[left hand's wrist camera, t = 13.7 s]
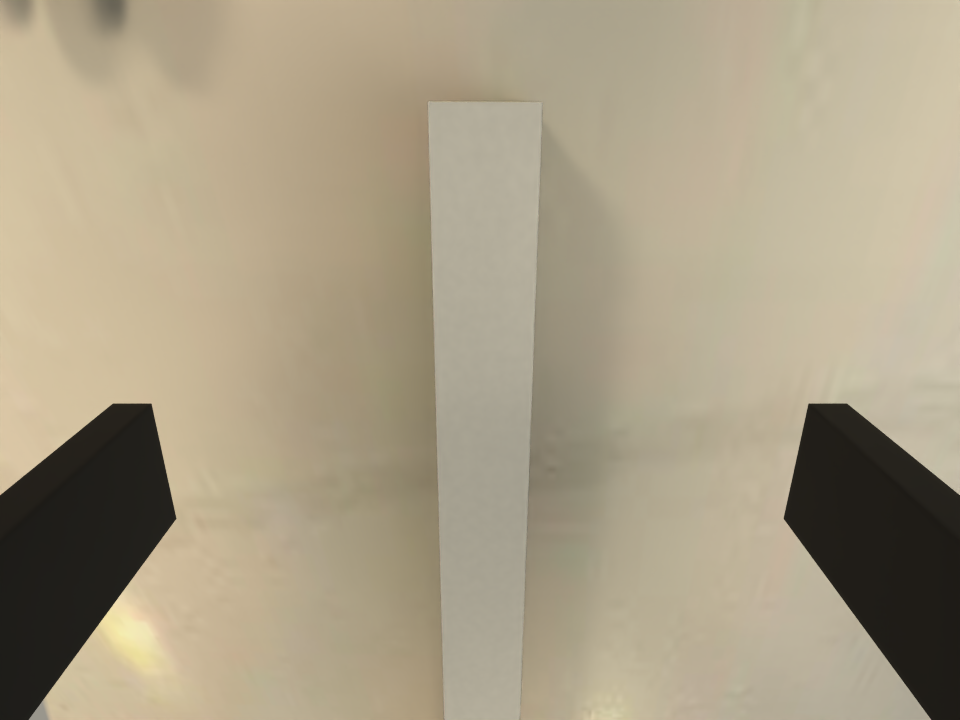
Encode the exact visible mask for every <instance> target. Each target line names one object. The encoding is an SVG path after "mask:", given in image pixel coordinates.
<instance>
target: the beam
mask: <svg viewBox="0 0 960 720" xmlns="http://www.w3.org/2000/svg"><path fill="white" fill-rule="evenodd" d="M542 114H543V102H526V101H428V138H429V175H430V213H431V251H432V288H433V326H434V364H435V401H436V439H437V477H438V514H439V552H440V590H441V628H442V665H443V703H444V720H520V708H521V681H522V654H523V627H524V600H525V573H526V546H527V519H528V492H529V465H530V438H531V411H532V384H533V357H534V330H535V303H536V276H537V249H538V222H539V195H540V168H541V141H542Z"/></svg>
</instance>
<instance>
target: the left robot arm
mask: <svg viewBox="0 0 960 720" xmlns="http://www.w3.org/2000/svg"><path fill="white" fill-rule="evenodd" d="M175 520H176V515H175V511H174V506H173V501H172V497H171V492H170V487H169V483H168V478H167V474H166V469H165V464H164V460H163V455H162V450H161V446H160V441H159V437H158V432H157V427H156V423H155V418H154V414H153V409H152V404H112V405H111V406H110V407H108V408H107V409H106V410H105V411H103V412H102V413H101V414H100V415H98V416H97V417H96V418H95V419H94V420H92V421H91V422H90V423H89V424H87V425H86V426H85V427H84V428H82V429H81V430H80V431H79V432H78V433H76V434H75V435H74V436H73V437H71V438H70V439H69V440H68V441H66V442H65V443H64V444H63V445H62V446H60V447H59V448H58V449H57V450H55V451H54V452H53V453H52V454H50V455H49V456H48V457H47V458H46V459H44V460H43V461H42V462H41V463H39V464H38V465H37V466H36V467H35V468H33V469H32V470H31V471H30V472H28V473H27V474H26V475H25V476H23V477H22V478H21V479H20V480H19V481H17V482H16V483H15V484H14V485H12V486H11V487H10V488H9V489H7V490H6V491H5V492H4V493H3V494H1V495H0V720H29V718H30V717H31V716H32V714H33V713H34V712H35V710H36V709H37V708H38V706H39V705H40V703H41V702H42V701H43V699H44V698H45V697H46V695H47V694H48V693H49V691H50V690H51V688H52V687H53V686H54V684H55V683H56V682H57V680H58V679H59V678H60V676H61V675H62V674H63V672H64V671H65V669H66V668H67V667H68V665H69V664H70V663H71V661H72V660H73V659H74V657H75V656H76V654H77V653H78V652H79V650H80V649H81V648H82V646H83V645H84V644H85V642H86V641H87V639H88V638H89V637H90V635H91V634H92V633H93V631H94V630H95V629H96V627H97V626H98V625H99V623H100V622H101V620H102V619H103V618H104V616H105V615H106V614H107V612H108V611H109V610H110V608H111V607H112V605H113V604H114V603H115V601H116V600H117V599H118V597H119V596H120V595H121V593H122V592H123V590H124V589H125V588H126V586H127V585H128V584H129V582H130V581H131V580H132V578H133V577H134V576H135V574H136V573H137V571H138V570H139V569H140V567H141V566H142V565H143V563H144V562H145V561H146V559H147V558H148V556H149V555H150V554H151V552H152V551H153V550H154V548H155V547H156V546H157V544H158V543H159V542H160V540H161V539H162V537H163V536H164V535H165V533H166V532H167V531H168V529H169V528H170V527H171V525H172V524H173V522H174V521H175ZM784 520H785V521H786V522H787V524H788V525H789V527H790V528H791V529H792V531H793V532H794V533H795V535H796V536H797V537H798V539H799V540H800V542H801V543H802V544H803V546H804V547H805V548H806V550H807V551H808V552H809V554H810V555H811V556H812V558H813V559H814V561H815V562H816V563H817V565H818V566H819V567H820V569H821V570H822V571H823V573H824V574H825V576H826V577H827V578H828V580H829V581H830V582H831V584H832V585H833V586H834V588H835V589H836V590H837V592H838V593H839V595H840V596H841V597H842V599H843V600H844V601H845V603H846V604H847V605H848V607H849V608H850V610H851V611H852V612H853V614H854V615H855V616H856V618H857V619H858V620H859V622H860V623H861V625H862V626H863V627H864V629H865V630H866V631H867V633H868V634H869V635H870V637H871V638H872V639H873V641H874V642H875V644H876V645H877V646H878V648H879V649H880V650H881V652H882V653H883V654H884V656H885V657H886V659H887V660H888V661H889V663H890V664H891V665H892V667H893V668H894V669H895V671H896V672H897V674H898V675H899V676H900V678H901V679H902V680H903V682H904V683H905V684H906V686H907V687H908V688H909V690H910V691H911V693H912V694H913V695H914V697H915V698H916V699H917V701H918V702H919V703H920V705H921V706H922V708H923V709H924V710H925V712H926V713H927V714H928V716H929V717H930V718H931V720H960V495H959V494H957V493H956V492H955V491H954V490H953V489H951V488H950V487H949V486H948V485H946V484H945V483H944V482H943V481H941V480H940V479H939V478H938V477H937V476H935V475H934V474H933V473H932V472H930V471H929V470H928V469H927V468H925V467H924V466H923V465H922V464H921V463H919V462H918V461H917V460H916V459H914V458H913V457H912V456H911V455H910V454H908V453H907V452H906V451H905V450H903V449H902V448H901V447H900V446H898V445H897V444H896V443H895V442H894V441H892V440H891V439H890V438H889V437H887V436H886V435H885V434H884V433H882V432H881V431H880V430H879V429H878V428H876V427H875V426H874V425H873V424H871V423H870V422H869V421H868V420H866V419H865V418H864V417H863V416H862V415H860V414H859V413H858V412H857V411H855V410H854V409H853V408H852V407H850V406H849V405H848V404H808V409H807V413H806V418H805V423H804V427H803V432H802V437H801V441H800V446H799V450H798V455H797V460H796V464H795V469H794V474H793V478H792V483H791V487H790V492H789V497H788V501H787V506H786V511H785V515H784Z"/></svg>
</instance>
